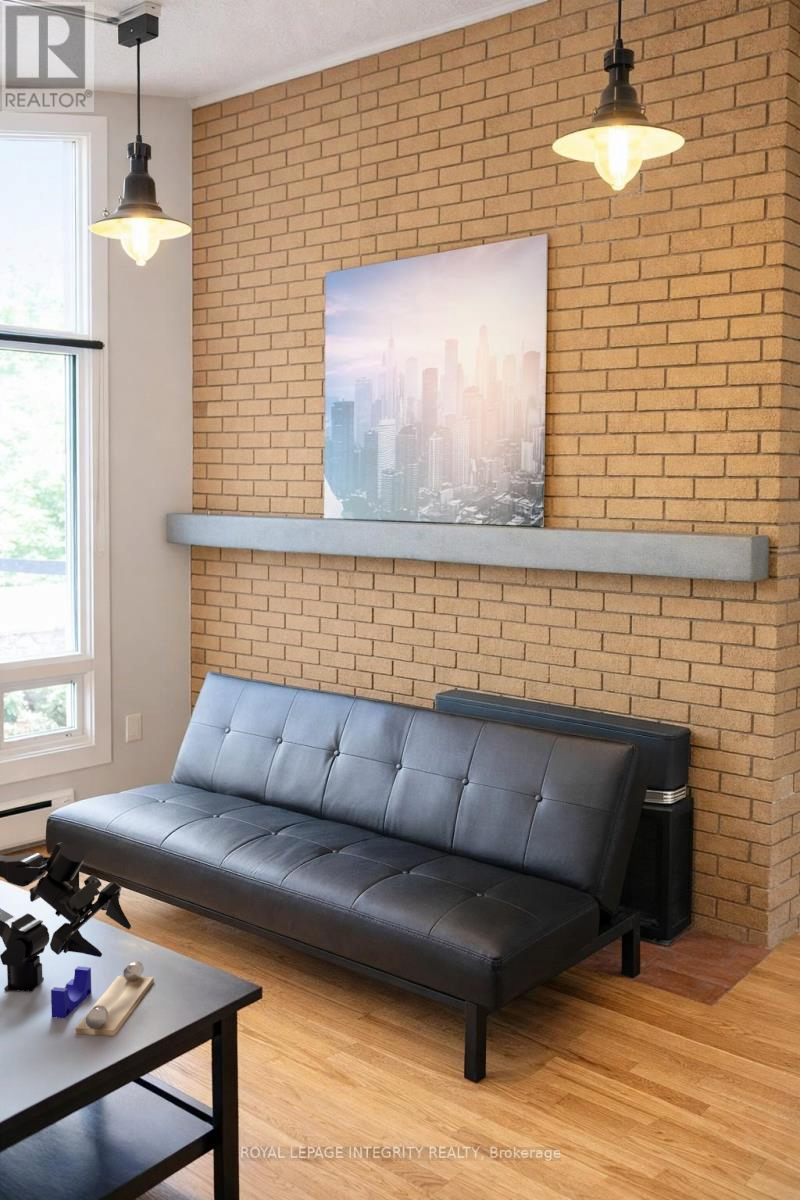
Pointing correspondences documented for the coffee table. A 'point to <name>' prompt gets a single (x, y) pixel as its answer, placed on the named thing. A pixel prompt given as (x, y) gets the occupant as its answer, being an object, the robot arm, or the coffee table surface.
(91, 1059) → the coffee table surface
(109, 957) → the coffee table surface
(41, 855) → the robot arm
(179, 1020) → the coffee table surface
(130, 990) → the light wooden board
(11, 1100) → the coffee table surface
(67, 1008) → the cable clip
